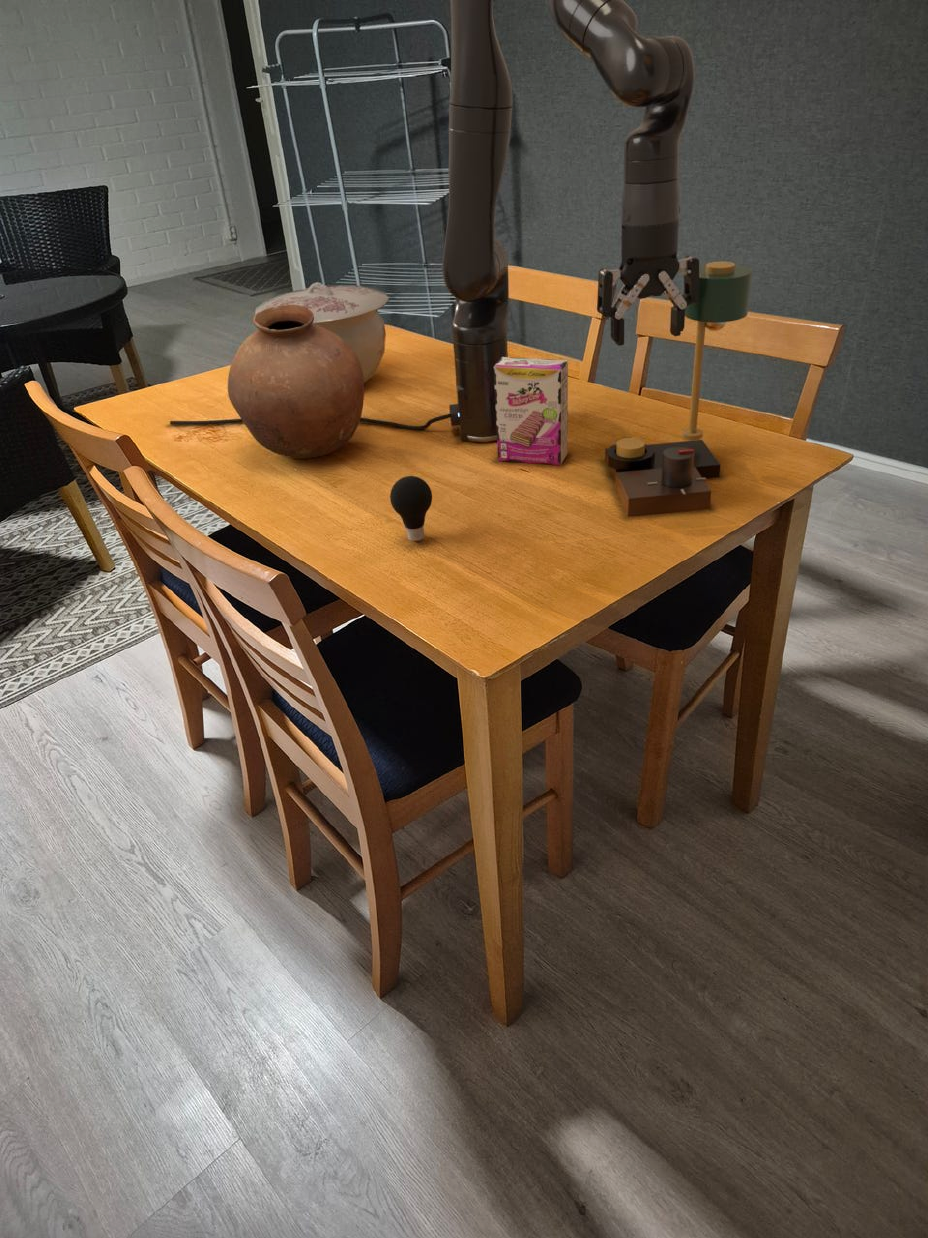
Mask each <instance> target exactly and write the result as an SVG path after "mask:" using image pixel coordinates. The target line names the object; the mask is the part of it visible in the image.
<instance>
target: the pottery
mask: <svg viewBox="0 0 928 1238" xmlns="http://www.w3.org/2000/svg"><path fill="white" fill-rule="evenodd" d="M313 321H314V313H313V312H312V311H311V310H310V309H309V308H307V307H304V306H300V305H295V304H291V305H279V306H276V307H269V308H267V309H264V310H262V311H260V312H258V313H257V314H256V315H255V314H254V315H253V318H252V322H253V325H254V326H255V328H257V330H256V331H255V332H252V333H251V334H250V335H249V336H248V337H247V338H246V339H245V340H244V341H243V342H242V344H241V345H240V346H239V347H238V349H237V351H236V352H235V354H234V356H233V358H232V361H231V365H230V367H229V371H228V377H227V395H228V399H229V401H230V404H231V406H232V407H233V409H234V411H235V412H236V413H237V415H238V416H239V419H242V421H243V422H242V423H243V424H244V426H245V427H246V428H247V429H248V431H249V433H250V434H251V436H252V437H253V438H254V439H255V440H256V442H257V443H259V445H260V446H262V447H263V448H265V449H266V450H268V451H270V452H272V453H274V454H277V455H280V456H282V457H287V458H293V459H311V458H318V457H322V456H325V455H328V454H330V453H333V452H334V451H337V450H339V449H340V448H342V447H343V446H345V445H346V444H348V443H349V442H350V441H351V439H353V437H354V435H355V433H356V431H357V429H358V427H359V424H360V419H361V418H362V413H363V408H364V401H365V400H364V399H365V383H364V381H363V373H362V368H361V364H360V361H359V358H358V356H357V355H356V353H355V352H354V350H353V349H352V348H351V347H350V346H349V344H348V343H347V342H345V341H344V340H343V339H342V338H341V337H339V336H338V335H336V334H335V333H333V332H331V331H329V330H327V329H325V328H323V327H321V326H318V325H315V324H312V323H313Z"/></svg>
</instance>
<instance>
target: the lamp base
mask: <svg viewBox="0 0 928 1238" xmlns="http://www.w3.org/2000/svg"><path fill="white" fill-rule="evenodd" d="M616 444H617V443H615V444H612V445H610V446H609V447H608V448H607V447H606V448H604V462H605V464H606V467H607V468H608V471H609V472H610V475H611V477H612V479H613V481H614V483H615V484H616V473H617V472H628V471H639V470H650V469H660V468H662V464H663V452H664V451H665V450H666V449H668V448H672V447H684V448H688V449H694V464H693V465H694V466H695V468H696V469H697V471H698V472H699V474H700V475H701V477H702V478H706V479H705V480H707V479H718V478H720V473H721V463H720V461H718V459H717V458H716V457H715V455H714V454H713V452H712V451H711V449H710V448H708V445H707V444H706V443H705V442H704V440H703V439H699V440H683V441H673V442H663V443H653V444H651V443H650V444H646V443H645V454H644V455H643V456H641V457H637V458H625V457H620V456H618V455H616Z"/></svg>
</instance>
